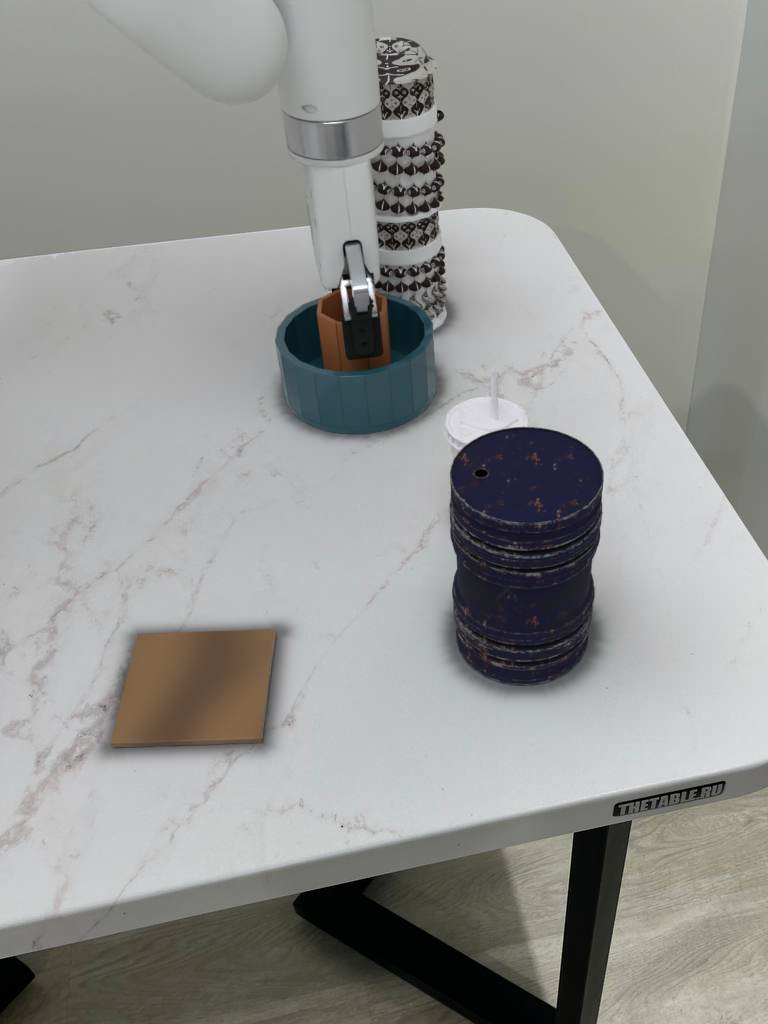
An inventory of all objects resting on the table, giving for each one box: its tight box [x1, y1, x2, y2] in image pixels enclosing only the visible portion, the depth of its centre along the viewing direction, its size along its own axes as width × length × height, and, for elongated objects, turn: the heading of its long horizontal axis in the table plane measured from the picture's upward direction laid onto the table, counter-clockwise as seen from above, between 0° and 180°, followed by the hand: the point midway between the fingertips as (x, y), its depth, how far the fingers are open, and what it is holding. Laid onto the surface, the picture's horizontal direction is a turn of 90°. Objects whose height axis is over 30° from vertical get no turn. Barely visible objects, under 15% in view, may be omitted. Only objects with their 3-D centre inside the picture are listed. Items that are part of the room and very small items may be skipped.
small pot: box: [317, 289, 392, 372], centre depth 95 cm, size 6×6×8 cm
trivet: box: [109, 628, 277, 749], centre depth 73 cm, size 10×10×1 cm
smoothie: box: [443, 367, 530, 460], centre depth 80 cm, size 6×6×14 cm
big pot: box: [274, 293, 437, 435], centre depth 96 cm, size 14×14×6 cm
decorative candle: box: [365, 36, 448, 332], centre depth 98 cm, size 9×9×25 cm
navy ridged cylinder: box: [448, 426, 605, 686], centre depth 71 cm, size 10×10×15 cm
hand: (357, 326), depth 93 cm, fingers open, 9 cm apart
